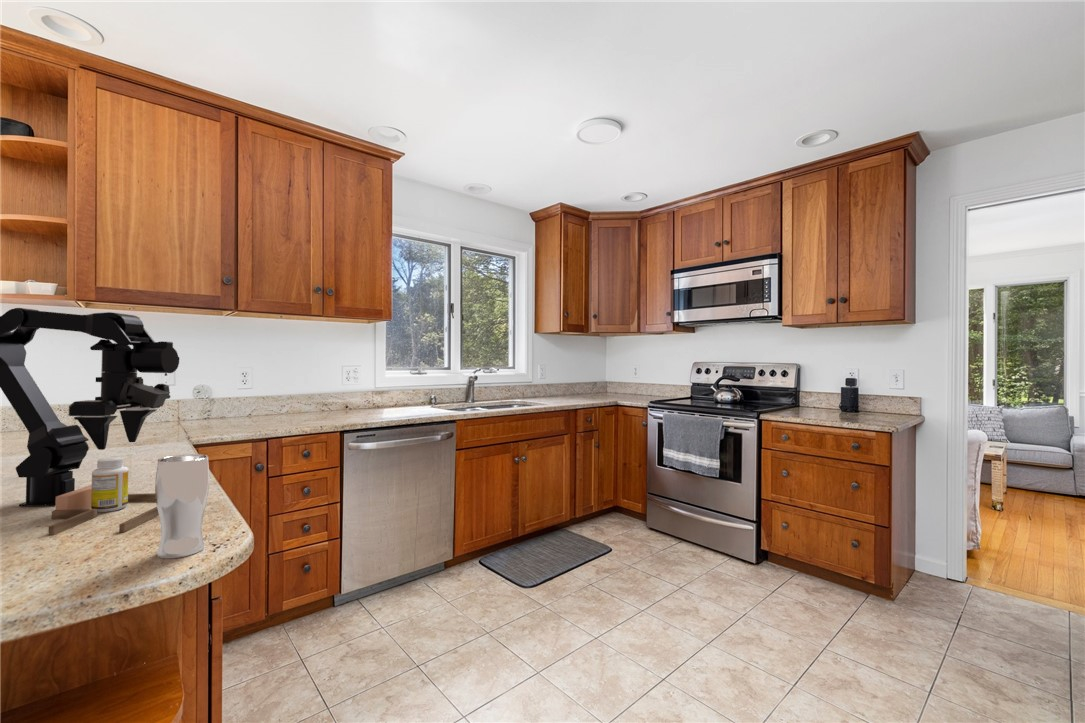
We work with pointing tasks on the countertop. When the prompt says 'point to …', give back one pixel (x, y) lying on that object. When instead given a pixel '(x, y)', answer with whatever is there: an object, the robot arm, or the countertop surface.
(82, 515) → the walnut track
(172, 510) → the beer glass
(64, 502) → the stop block
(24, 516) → the countertop surface
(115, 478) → the supplement bottle
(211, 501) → the countertop surface
